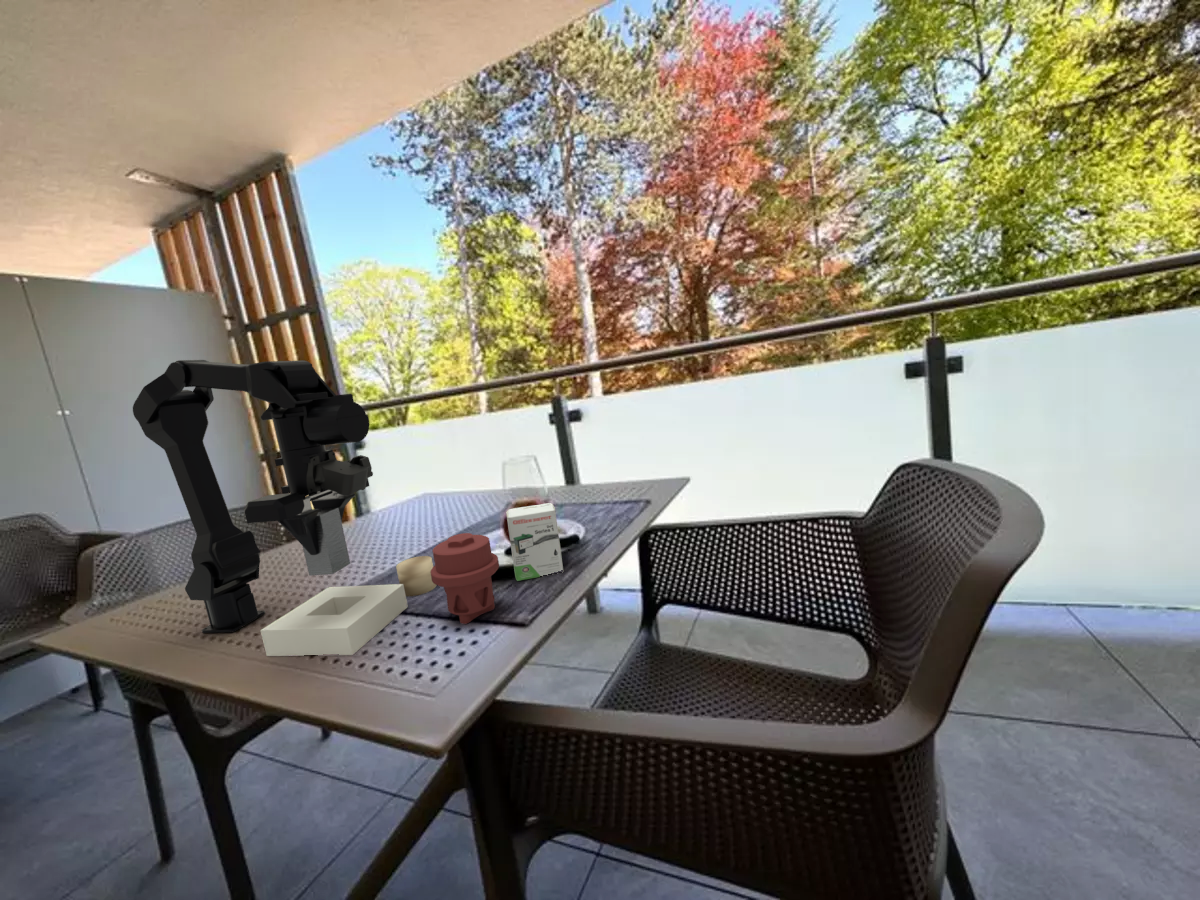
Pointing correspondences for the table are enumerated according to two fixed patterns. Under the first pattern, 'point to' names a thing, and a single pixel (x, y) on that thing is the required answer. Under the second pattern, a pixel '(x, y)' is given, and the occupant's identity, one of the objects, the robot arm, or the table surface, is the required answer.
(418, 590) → the beige rounded lump
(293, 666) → the table surface
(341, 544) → the square bar
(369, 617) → the socket block
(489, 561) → the mechanical component
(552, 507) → the ink box
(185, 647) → the table surface
